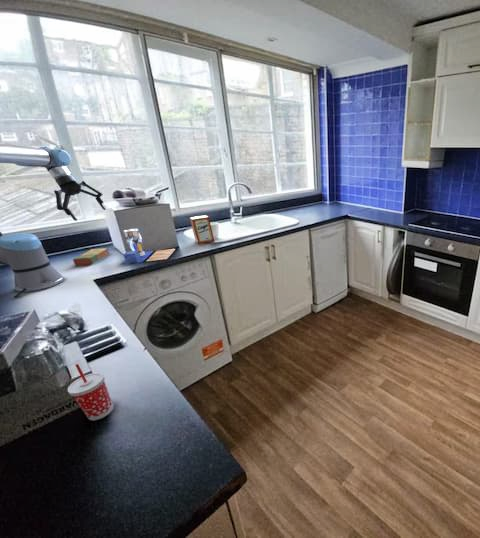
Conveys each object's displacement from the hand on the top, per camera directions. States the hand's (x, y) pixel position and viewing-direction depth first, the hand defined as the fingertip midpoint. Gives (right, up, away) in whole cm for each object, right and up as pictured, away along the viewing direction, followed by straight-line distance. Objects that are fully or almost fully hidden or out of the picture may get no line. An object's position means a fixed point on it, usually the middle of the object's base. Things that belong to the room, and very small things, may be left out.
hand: (90, 214), depth 158 cm
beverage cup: (+85, -63, -89) cm, 138 cm away
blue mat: (+21, -23, +6) cm, 32 cm away
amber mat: (+32, -22, +9) cm, 40 cm away
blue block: (+23, -25, 0) cm, 34 cm away
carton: (-2, -25, +5) cm, 25 cm away
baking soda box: (+45, -11, +33) cm, 56 cm away
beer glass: (+21, -22, +8) cm, 31 cm away
